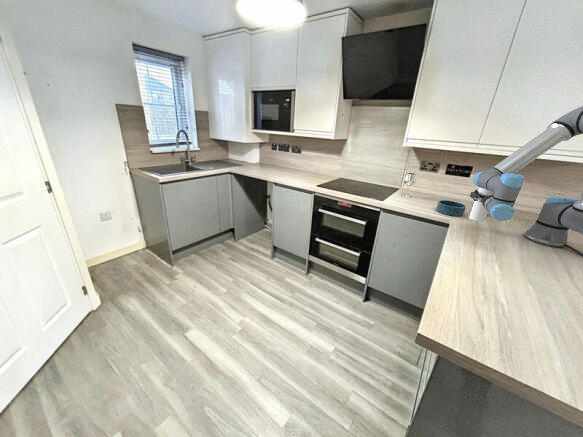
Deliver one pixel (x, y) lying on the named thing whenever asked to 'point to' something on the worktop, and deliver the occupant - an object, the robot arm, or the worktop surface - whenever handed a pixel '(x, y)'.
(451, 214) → the bowl
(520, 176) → the robot arm
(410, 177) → the wineglass
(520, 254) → the worktop surface
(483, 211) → the cylindrical container
